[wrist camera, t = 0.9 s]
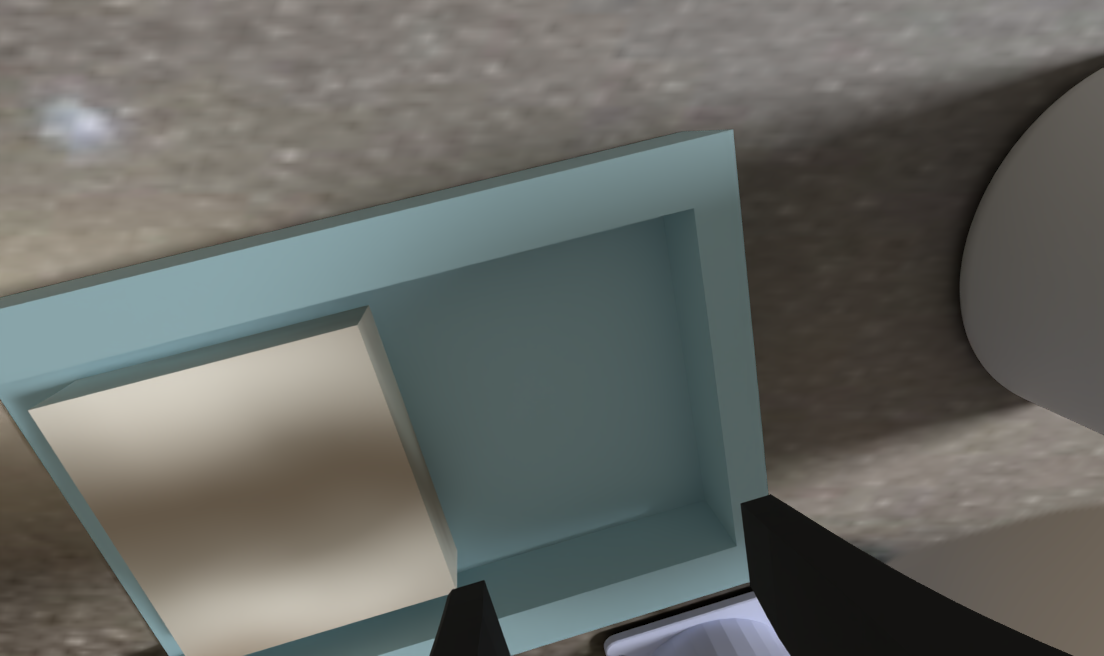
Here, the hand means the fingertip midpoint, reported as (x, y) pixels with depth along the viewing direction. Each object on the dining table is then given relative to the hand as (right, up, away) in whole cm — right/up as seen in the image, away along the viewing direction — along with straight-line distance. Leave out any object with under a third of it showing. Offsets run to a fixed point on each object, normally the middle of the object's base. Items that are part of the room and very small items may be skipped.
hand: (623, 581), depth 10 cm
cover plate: (-9, 0, +7) cm, 11 cm away
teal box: (-6, +2, +8) cm, 10 cm away
